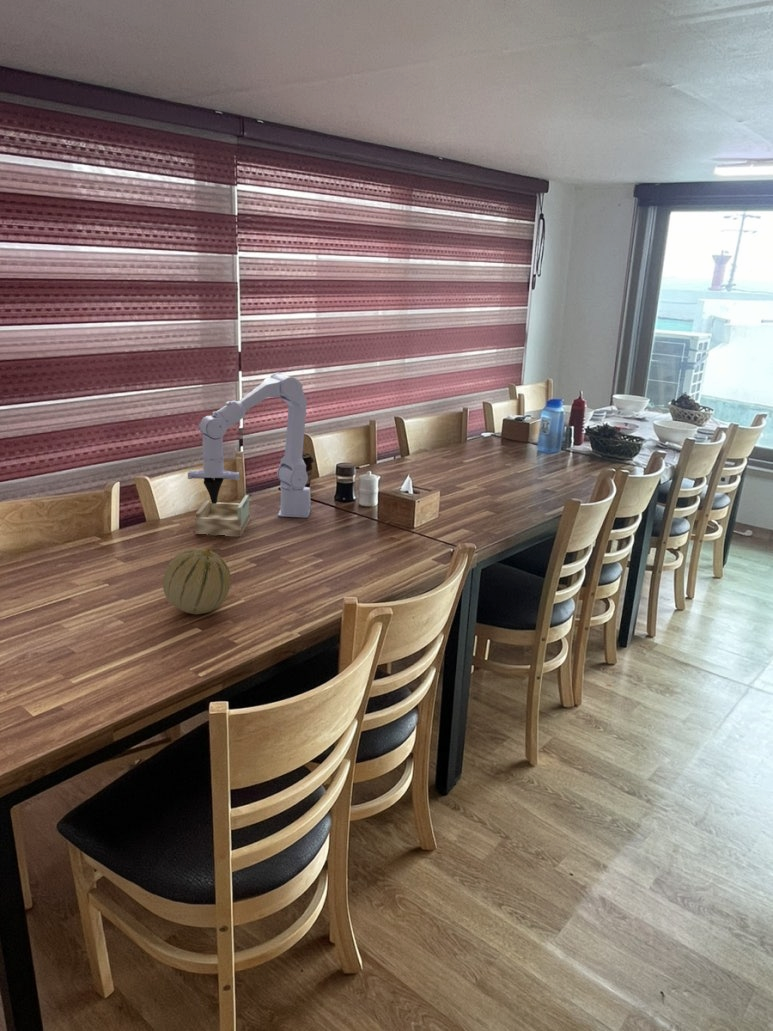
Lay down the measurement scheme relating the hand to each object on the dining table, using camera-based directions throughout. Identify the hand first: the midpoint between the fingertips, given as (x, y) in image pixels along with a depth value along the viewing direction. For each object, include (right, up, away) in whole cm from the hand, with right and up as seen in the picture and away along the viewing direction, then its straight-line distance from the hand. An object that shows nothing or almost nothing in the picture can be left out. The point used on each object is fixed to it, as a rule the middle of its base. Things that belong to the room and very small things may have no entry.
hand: (214, 502), depth 214 cm
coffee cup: (+21, +4, +40) cm, 45 cm away
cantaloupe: (+8, -26, -49) cm, 56 cm away
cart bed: (+2, -7, +2) cm, 8 cm away
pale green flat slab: (+9, -6, +2) cm, 11 cm away
